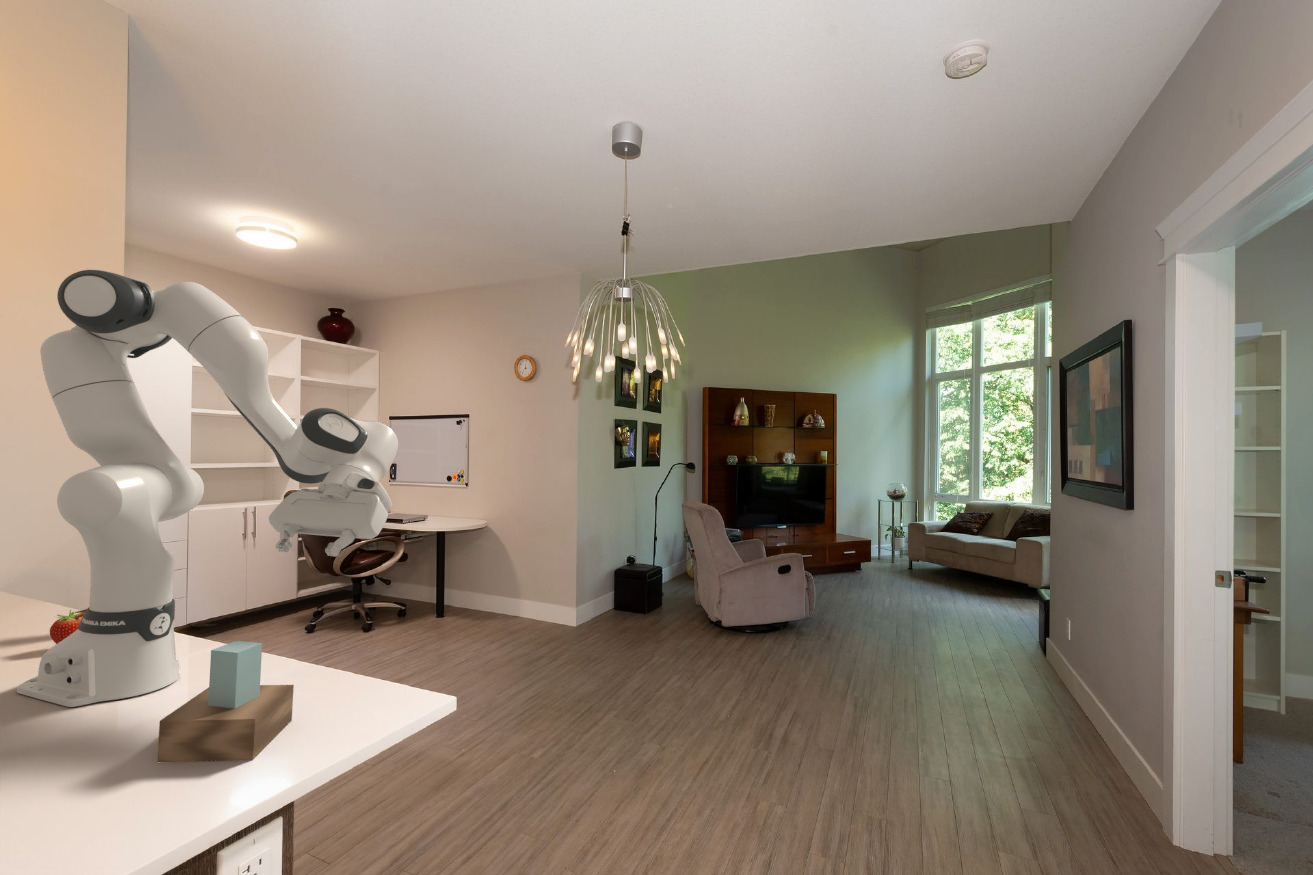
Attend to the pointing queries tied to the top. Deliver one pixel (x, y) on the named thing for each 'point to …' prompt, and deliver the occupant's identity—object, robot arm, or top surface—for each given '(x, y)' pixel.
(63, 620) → the fruit
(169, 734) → the walnut block
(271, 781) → the top surface
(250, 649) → the tea tin
